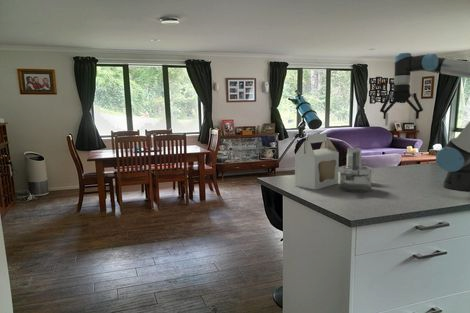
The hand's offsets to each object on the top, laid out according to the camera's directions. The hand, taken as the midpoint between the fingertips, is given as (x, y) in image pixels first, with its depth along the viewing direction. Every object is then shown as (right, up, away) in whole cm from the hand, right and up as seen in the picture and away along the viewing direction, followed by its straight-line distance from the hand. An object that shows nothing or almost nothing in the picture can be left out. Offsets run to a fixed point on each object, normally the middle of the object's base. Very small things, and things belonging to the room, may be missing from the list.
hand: (400, 125), depth 180 cm
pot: (-27, -33, -6) cm, 43 cm away
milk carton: (-19, -31, +15) cm, 39 cm away
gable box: (-42, -32, +9) cm, 54 cm away
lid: (-25, -24, -5) cm, 35 cm away
